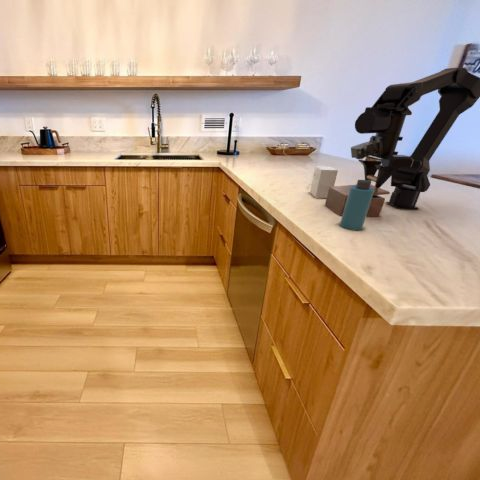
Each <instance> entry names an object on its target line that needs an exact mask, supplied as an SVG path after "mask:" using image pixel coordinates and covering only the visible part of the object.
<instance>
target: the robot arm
mask: <svg viewBox="0 0 480 480" xmlns="http://www.w3.org/2000/svg"><path fill="white" fill-rule="evenodd" d="M435 91H437V93H438V94H439V96H440V98H439V99H438V105H439V106H438V107H439V111H438V112H437V113H436V115H435V117H434V119H433V120H432V122H431V123H430V125H429V126H428V128H427V129H426V131H425V133H424V134H423V136H422V137H421V139H420V141H418V144H417V145H416V147H415V149H414V150H413V152H412V153H411V154H410V155H405V154H399V151H396V149H397V145H398V142H399V141H400V142H402V141H403V138H404V137H403V136H401V133H402V129H403V127H404V123H405V120H406V117H407V116H412V114H413V112H412V111H411V109H410V108H409V107H411V106H412V105H414V104H415V103H417V102H419V101H420V100H421V98H422V97H423V96H425V95H427V94H430V93H432V92H435ZM479 99H480V77H479V76H477V75H475V74H473V73H471V72H469V71H468V69H467V68H466V67H463V66H458V67H449V68H444V69H442V70H440V71H438V72H435V73H433V74H430V75H428V76H425V77H422V78H419V79H417V80H414V81H410V82H402V83H401V82H400V83H394V84H390V85H388V86H387V87H386V88H385V90H384V91H383V92H382V93H381V94H380V96H379V97H378V98H377V100H376V101H374V103H373V105H372V106H367V107H365V109H364V111H363V112H362V113H361V114H360V115H359V116H358V117H357V119H355V121H354V129H355V131H356V133H358V134H362V135H364V134H365V135H366V134H375V135H371V136H370V138H369V141H365V142H362V143H359V144H356V145H353V146H351V147H350V154H351V158H352V159H356V160H357V161H358V162H359V163H360V164H361V165H362V166H363V173H364V180H368V179H367V176H368V175H369V174H371V175H374V176H377V180H376V182H375V183H376V188H381V187H382V186H383V185H384V184H385V183H386V182H387V181H388V180H389V179H390V187H394V190H393V191H392V192H391V195H390V198H389V200H388V201H386V202H385V204H387V205H389V206H392V207H394V208H396V209H398V210H399V209H400V210H419V207H418V206H416V205H417V202H418V200H419V197H420V194H421V193H426V192H427V191H428V190H429V188H430V186H431V183H430V180H429V177H428V174H429V173H430V171H431V167H430V166H431V165H430V161H431V159H432V157H433V156H434V154H435V153H436V151H437V149H438V148H439V147H440V145H441V143H442V142H443V141H444V139H445V137H446V136H447V134H448V133H449V131H450V129H451V128H452V127H453V125H454V124H455V122H456V121H457V119H458V118H459V116H460V115H461V114H463V113H464V112H466V111H467V110H470V109H471V108H472V107H474V105H475V104H476V103H477V101H478V100H479ZM376 173H377V175H376Z"/></svg>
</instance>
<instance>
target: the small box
mask: <svg viewBox="0 0 480 480" xmlns="http://www.w3.org/2000/svg"><path fill="white" fill-rule="evenodd" d="M313 170H314V171H313V174H312V180H311V183H310V188H309V193H310V194H311V196H313V197H314V198H315V199H327V195H328V191H329V187H333V186H335V184H336V180H337V177H338V176H337V175H338V171H339V170H338V169H336V168H335V167H332V166H328V165H324V166H322V165H315V166H314V169H313Z"/></svg>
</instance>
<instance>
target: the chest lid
mask: <svg viewBox="0 0 480 480" xmlns="http://www.w3.org/2000/svg"><path fill="white" fill-rule="evenodd" d="M367 179H368V180H369V181H371V182H373V183H375V184H374V185H373V184H371V185H370V188H372V189H374V193H373V195H378V196H384V195H390V194H391V192H390V191H389V190H386V189H384V188H381V187H380V188H376V180H377V175H371V174H369V175H368V176H367ZM356 185H357V184H348V185H334V186H333V187H329V189H331V190H333V191H334V192H336V193H338V194H340V195H342V196H344V197H348V194H349V191H350V187H351V186H356Z"/></svg>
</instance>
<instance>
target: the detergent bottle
mask: <svg viewBox="0 0 480 480" xmlns="http://www.w3.org/2000/svg"><path fill="white" fill-rule="evenodd" d="M355 185H356V186H351V187H350V191H349V194H348V198H347V201H346V205H345V208H344V212H343V215H342V216H341V219H340V223H339V226H340V227H341V228H343V229H347V230H350V231H361V230H363V228H364V224H365V221H366V219H367V216H366V215H367V212H368V209H369V206H370V203H371V199H372V196H373V193H374V189H372V188H370V185H372V181H369V180H365V179H357V181H356V184H355Z"/></svg>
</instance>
